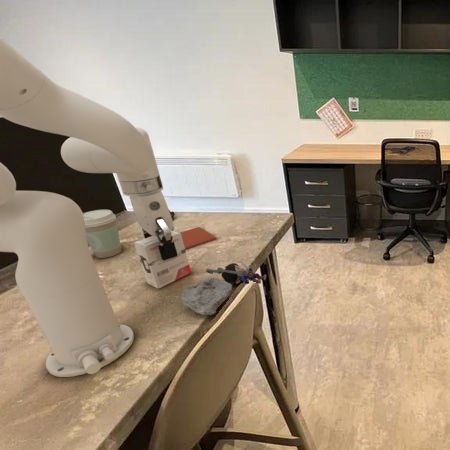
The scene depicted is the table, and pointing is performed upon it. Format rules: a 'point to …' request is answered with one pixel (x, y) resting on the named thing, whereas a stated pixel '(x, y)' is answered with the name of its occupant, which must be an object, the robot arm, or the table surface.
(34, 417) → the table surface
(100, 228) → the coffee cup
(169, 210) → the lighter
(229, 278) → the toy
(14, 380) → the table surface
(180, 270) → the ink box
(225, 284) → the stone
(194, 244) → the side mat
